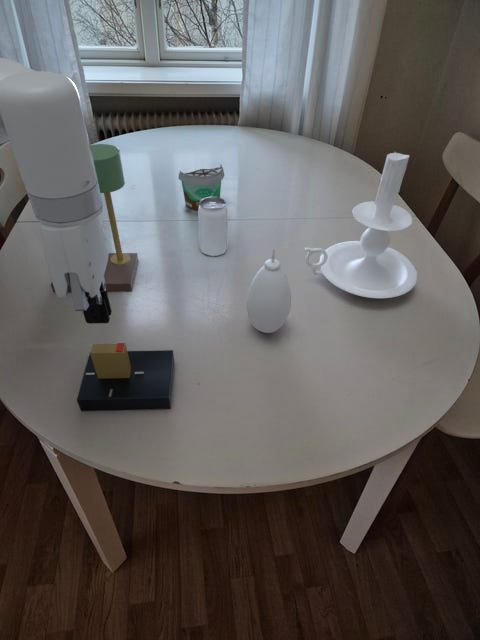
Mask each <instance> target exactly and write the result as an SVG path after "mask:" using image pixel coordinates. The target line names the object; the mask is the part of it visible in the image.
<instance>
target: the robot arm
mask: <svg viewBox="0 0 480 640" xmlns="http://www.w3.org/2000/svg"><path fill="white" fill-rule="evenodd" d="M6 143H10V148H11V149H12V153H13V155H14V158H15V161H16V164H17V168H18V170H19V174H20V176H21V179H22V182H23V186H24V188H25V191H26V194H27V197H28V200H29V203H30V205H31V208H32V212H33V214H34V218H35V219H36V221H37V222H38V223H40V224H39V225H40V226H39V228H40V235H41V236H40V237H41V243H42V248H43V252H44V257H45V259H46V264H47V269H48V273H49V275H50V279H51V283H52V282H53V286H54V289H55V292H54V293H55V294H56V296H57V298H58V299H66V298H67V295H68V293H69V292H68V290H69V288H70V286H71V291H72V292H71V297H72V301H73V307H74V311H75V312H82V314H83V316H84V317H83V318H84V320H85V322H86V323H87V324H90V325H91V324H109V323H110V320H111V318H110V316H111V315H112V311H113V310H112V307H111V303H110V298H109V295H108V292H103V291H105V290H106V284H105V279H104V273H105V269H106V266H107V262H108V253H109V247H108V240H107V237H106V233H105V228H104V225H103V221H102V217H101V214H102V213H103V211H104V204H103V203H104V202H103V199H102V193H100V189H99V184H98V180H97V175H96V171H95V166H94V161H93V157H92V152H91V147H90V145H91V144H90V139H89V135H88V129H87V125H86V120H85V115H84V111H83V106H82V101H81V97H80V93H79V90H78V88H77V86H76V84H75V82H73V81H72V79H71V78H70V77H68V76H66V75H65V74H62V73H58V72H55V71H48V70H34V69H32V68H30V67H28V66H26V65H24V64H22V63H20V62H18V61H16V60H13V59H9V58H5V57H0V145H1V144H6Z"/></svg>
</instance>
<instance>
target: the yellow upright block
mask: <svg viewBox="0 0 480 640" xmlns="http://www.w3.org/2000/svg"><path fill="white" fill-rule="evenodd" d="M127 351H128V348H127V343H125V342H116V343H92V346H91V348H90V351H89V354H91V358H92V361H93V364H94V367H95V370H96V373H97V376H98V379H105V378H130V373H131V365H130V360H129V356H128V352H127Z"/></svg>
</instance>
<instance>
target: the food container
mask: <svg viewBox="0 0 480 640" xmlns="http://www.w3.org/2000/svg"><path fill="white" fill-rule="evenodd" d="M219 166H220V167H215V168H199V169H196V170H194V171H190V172H189V171H188V172H182V171H181V170H179V172H178V180H179V181H181V187H182V192H183V197H184V203H185V206H186V207H187V208H188V209H189V210H191V211H195V212H198V208H199V206H200V201H201V200H202V199H204V198H207V197H219V198H221V188H222V181H223V179H224V178H225V170H224V167H223V165H222V164H221V163H220V164H219Z"/></svg>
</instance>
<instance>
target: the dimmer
mask: <svg viewBox="0 0 480 640" xmlns="http://www.w3.org/2000/svg"><path fill="white" fill-rule="evenodd" d="M127 352H128V356H129V360H130V365H131V373H130V378H105V379H98V376H97V373H96V370H95V367H94V364H93V361H92V358H91V354H90V353H89V355H88V358H87V361H86V365H85V369H84V372H83V376H82V379H81V383H80V386H79V390H78V393H77V396H76V402H77V405H78V407H79V409H80V412H105V411H107V412H108V411H109V412H110V411H141V410H142V411H144V410H145V411H147V410H171V407H172V396H173V385H174V384H173V383H174V373H175V372H174V371H175V354H174V350H173V349H168V350H163V349H162V350H159V349H158V350H127Z"/></svg>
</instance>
